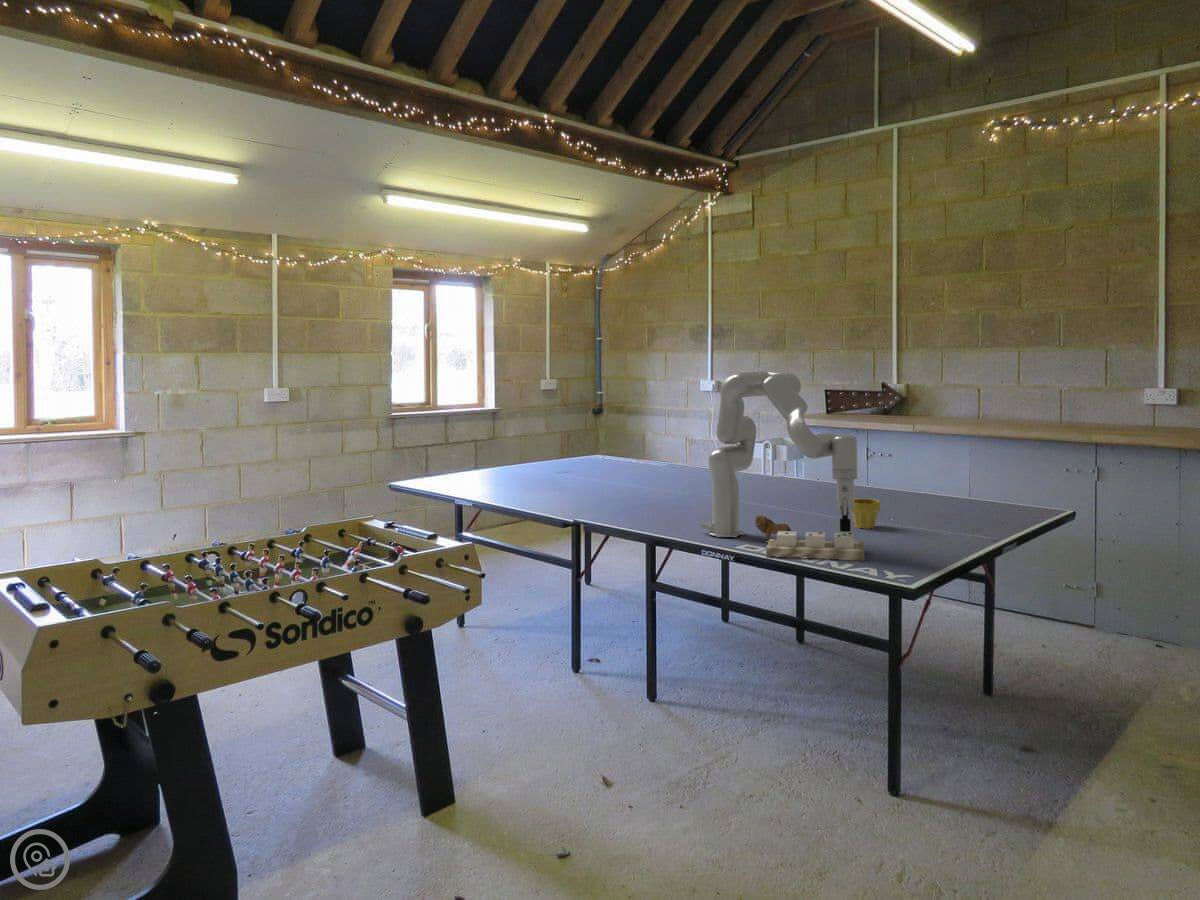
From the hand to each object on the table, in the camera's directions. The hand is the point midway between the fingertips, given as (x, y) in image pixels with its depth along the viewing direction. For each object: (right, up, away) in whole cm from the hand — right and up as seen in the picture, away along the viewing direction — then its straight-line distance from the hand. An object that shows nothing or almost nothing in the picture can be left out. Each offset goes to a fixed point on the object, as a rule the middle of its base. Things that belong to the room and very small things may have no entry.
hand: (845, 530), depth 275 cm
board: (-9, -8, +4) cm, 12 cm away
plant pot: (+18, -3, +40) cm, 44 cm away
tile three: (0, -5, +1) cm, 5 cm away
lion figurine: (-18, -6, +22) cm, 29 cm away
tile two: (-9, -5, +3) cm, 11 cm away
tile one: (-17, -5, +6) cm, 19 cm away
